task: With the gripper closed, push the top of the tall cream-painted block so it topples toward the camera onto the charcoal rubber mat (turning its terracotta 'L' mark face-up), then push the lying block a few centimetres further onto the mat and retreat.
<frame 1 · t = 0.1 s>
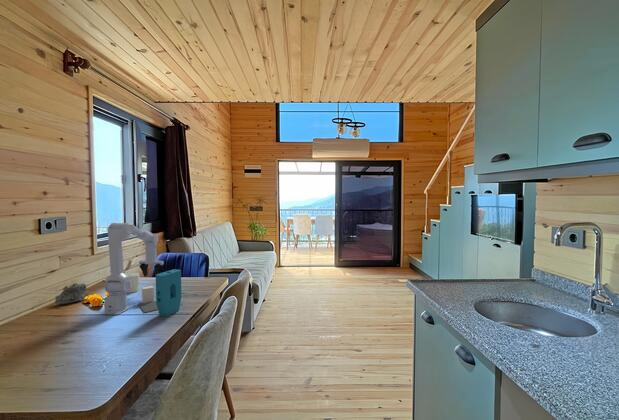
hand: (151, 276, 174), 10 cm above the table, fingers open, 7 cm apart
mineral rock: (72, 302, 159), on the table
white cup: (132, 291, 178), on the table
block: (147, 294, 159), point 4 cm above the table
block 2: (169, 312, 144), on the table
mat: (152, 306, 152), on the table
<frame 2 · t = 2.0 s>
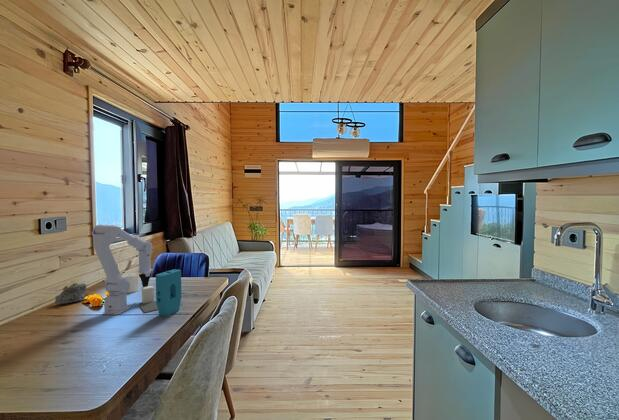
hand: (145, 286, 163), 7 cm above the table, fingers closed
nothing on the table moved.
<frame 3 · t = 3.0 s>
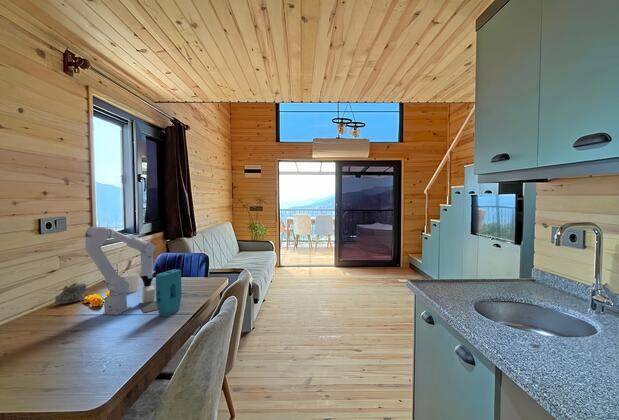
hand: (147, 288, 159), 7 cm above the table, fingers closed
block: (148, 294, 158), point 4 cm above the table, tilted 19°
everything else where it was.
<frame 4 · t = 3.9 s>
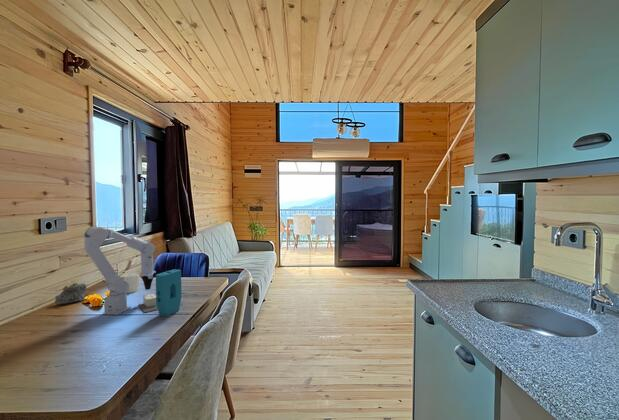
hand: (147, 289, 159), 7 cm above the table, fingers closed
block: (150, 300, 155), point 2 cm above the table, tilted 90°, touching mat
everything else where it was.
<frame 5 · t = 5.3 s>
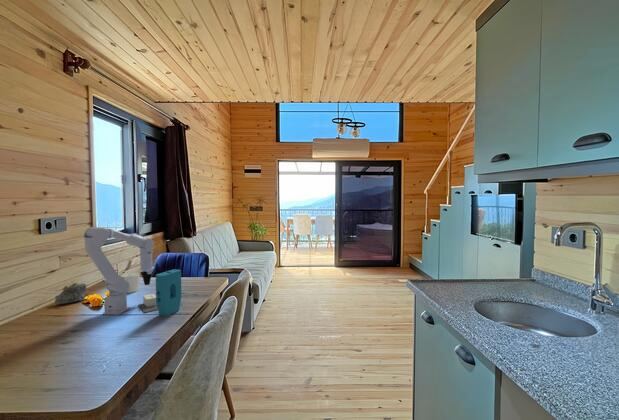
hand: (147, 284, 160), 9 cm above the table, fingers closed
nothing on the table moved.
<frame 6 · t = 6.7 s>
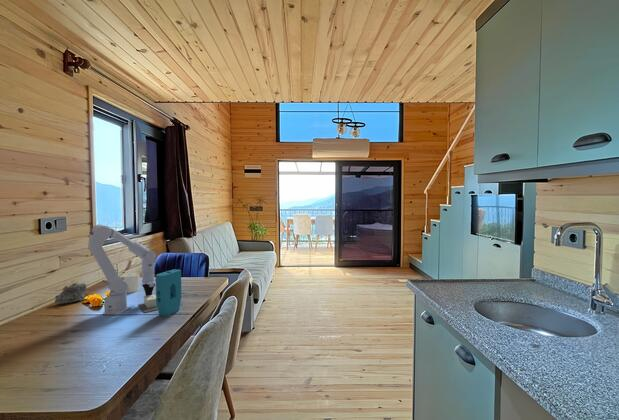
hand: (148, 297, 157), 3 cm above the table, fingers closed
block: (151, 300, 154), point 2 cm above the table, tilted 90°, touching mat
everything else where it was.
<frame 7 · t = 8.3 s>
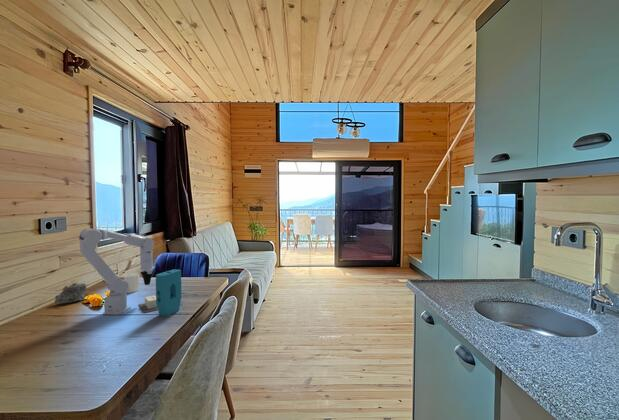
hand: (147, 284, 158), 10 cm above the table, fingers closed
block: (151, 301, 152), point 2 cm above the table, tilted 90°, touching mat
everything else where it was.
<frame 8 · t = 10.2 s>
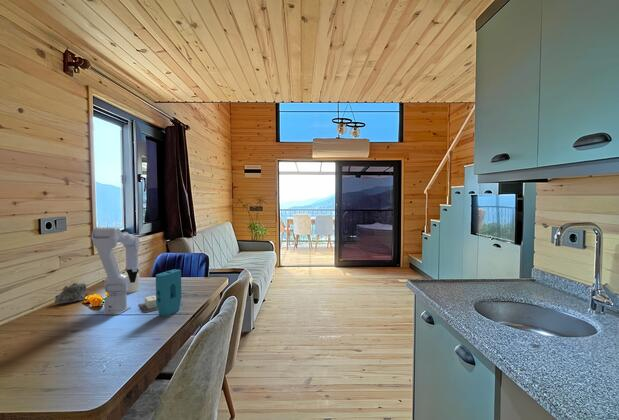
hand: (132, 282, 162), 10 cm above the table, fingers closed
nothing on the table moved.
at the end: block tilted 90°; block 0.5 cm from the mat (horizontally); block point 2.4 cm above the table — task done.
